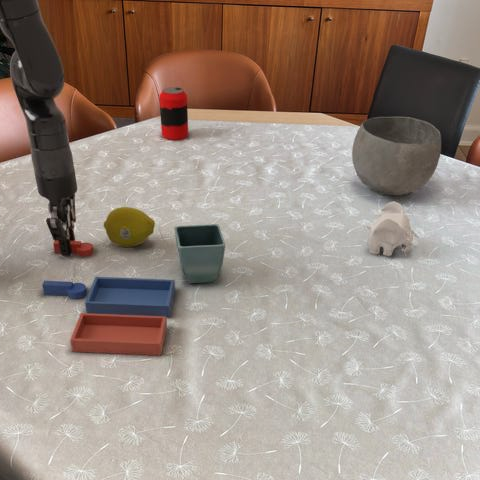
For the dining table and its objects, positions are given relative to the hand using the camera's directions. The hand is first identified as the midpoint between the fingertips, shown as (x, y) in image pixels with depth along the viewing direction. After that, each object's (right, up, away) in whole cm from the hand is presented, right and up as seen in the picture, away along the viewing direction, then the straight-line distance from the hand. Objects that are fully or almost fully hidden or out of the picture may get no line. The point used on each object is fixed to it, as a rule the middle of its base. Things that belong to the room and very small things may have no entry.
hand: (68, 250), depth 135 cm
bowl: (+73, +22, +26) cm, 80 cm away
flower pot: (+28, -7, -6) cm, 29 cm away
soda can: (+17, +46, +50) cm, 70 cm away
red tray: (+15, -22, -22) cm, 34 cm away
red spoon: (+1, 0, 0) cm, 1 cm away
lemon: (+12, +2, +3) cm, 13 cm away
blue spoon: (+3, -11, -11) cm, 16 cm away
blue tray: (+15, -13, -13) cm, 24 cm away
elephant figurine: (+67, +1, +4) cm, 67 cm away
